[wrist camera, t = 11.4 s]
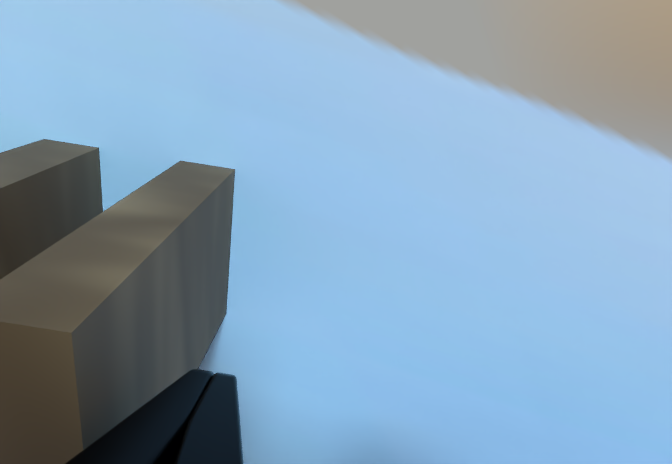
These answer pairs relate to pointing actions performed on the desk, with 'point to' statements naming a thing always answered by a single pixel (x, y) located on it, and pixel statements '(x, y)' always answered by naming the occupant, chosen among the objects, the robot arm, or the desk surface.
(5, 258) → the domino
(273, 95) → the desk surface
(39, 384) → the domino
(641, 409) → the desk surface
